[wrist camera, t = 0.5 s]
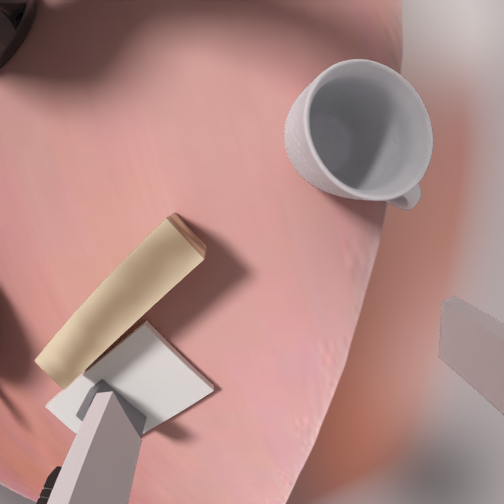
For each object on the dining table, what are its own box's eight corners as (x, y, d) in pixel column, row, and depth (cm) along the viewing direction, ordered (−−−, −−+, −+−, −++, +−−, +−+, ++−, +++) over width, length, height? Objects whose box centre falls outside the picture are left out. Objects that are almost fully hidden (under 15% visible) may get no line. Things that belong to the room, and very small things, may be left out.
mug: (403, 166, 34) (476, 165, 21) (351, 236, 35) (413, 264, 23) (312, 79, 31) (359, 32, 18) (250, 149, 32) (269, 129, 19)
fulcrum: (48, 402, 36) (30, 430, 29) (146, 319, 35) (132, 350, 28) (105, 450, 39) (94, 481, 32) (213, 385, 38) (213, 421, 31)
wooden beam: (54, 338, 35) (34, 360, 29) (175, 212, 33) (166, 218, 27) (80, 365, 36) (64, 389, 30) (206, 246, 34) (204, 259, 28)
